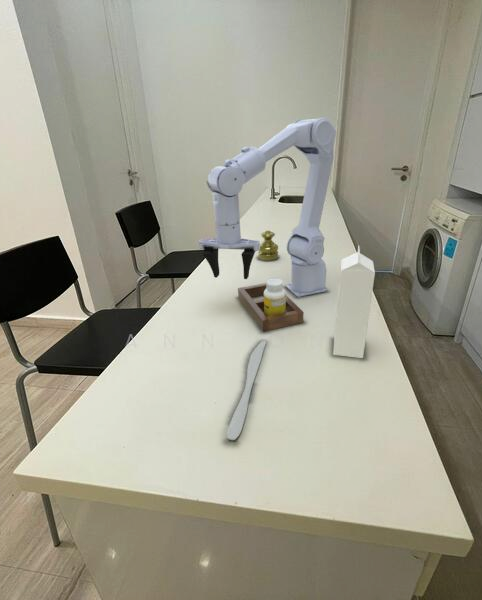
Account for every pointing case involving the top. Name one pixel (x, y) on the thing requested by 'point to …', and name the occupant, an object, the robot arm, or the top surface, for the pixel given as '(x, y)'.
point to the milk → (353, 305)
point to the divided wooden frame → (257, 308)
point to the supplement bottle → (274, 298)
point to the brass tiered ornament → (268, 247)
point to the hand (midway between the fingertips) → (231, 276)
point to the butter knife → (245, 393)
